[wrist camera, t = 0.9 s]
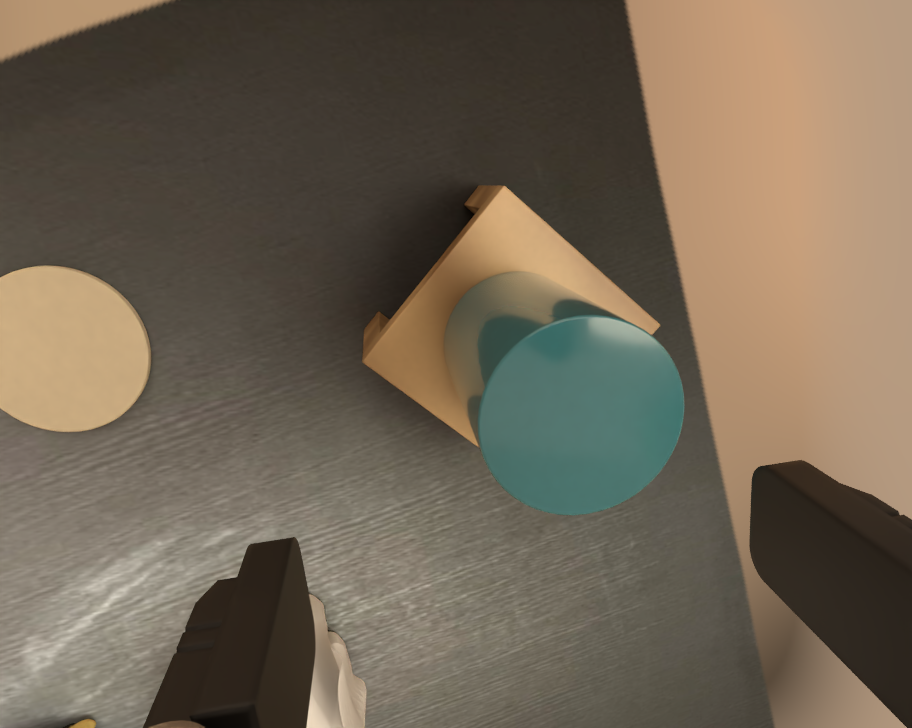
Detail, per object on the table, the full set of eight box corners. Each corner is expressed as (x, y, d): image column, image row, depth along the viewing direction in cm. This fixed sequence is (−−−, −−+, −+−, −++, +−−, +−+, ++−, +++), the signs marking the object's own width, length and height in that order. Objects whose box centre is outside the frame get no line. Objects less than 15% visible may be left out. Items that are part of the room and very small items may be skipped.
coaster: (28, 228, 28) (23, 229, 28) (185, 336, 30) (182, 338, 30) (-66, 365, 29) (-72, 367, 29) (92, 459, 32) (89, 462, 31)
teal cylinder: (507, 240, 25) (578, 269, 17) (613, 331, 27) (726, 400, 18) (413, 355, 26) (433, 440, 17) (521, 437, 28) (588, 552, 19)
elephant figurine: (265, 761, 38) (234, 928, 29) (163, 608, 34) (94, 747, 26) (413, 698, 38) (424, 846, 29) (326, 538, 34) (311, 655, 26)
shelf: (479, 184, 30) (504, 184, 25) (610, 300, 33) (661, 325, 27) (363, 329, 31) (361, 362, 26) (498, 430, 34) (524, 481, 28)
